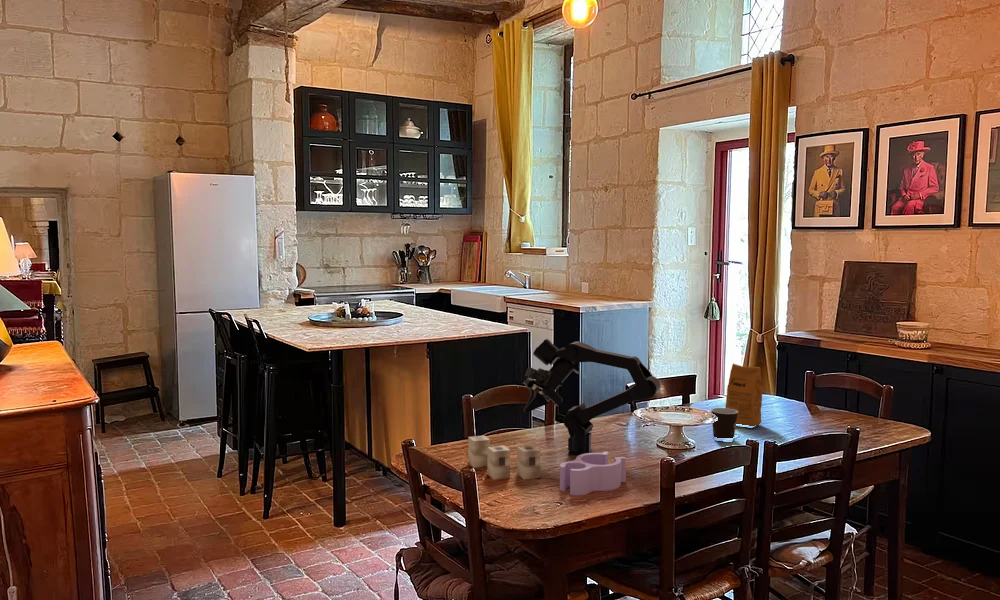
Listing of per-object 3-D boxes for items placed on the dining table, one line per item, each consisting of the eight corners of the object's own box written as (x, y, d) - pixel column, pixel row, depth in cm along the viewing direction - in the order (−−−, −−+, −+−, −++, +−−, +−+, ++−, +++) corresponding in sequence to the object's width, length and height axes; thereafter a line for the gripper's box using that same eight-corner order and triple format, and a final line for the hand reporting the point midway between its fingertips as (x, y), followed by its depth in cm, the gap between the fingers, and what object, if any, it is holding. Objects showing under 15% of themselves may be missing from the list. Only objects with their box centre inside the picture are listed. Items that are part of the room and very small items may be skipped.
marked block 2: (533, 472, 216) (533, 444, 215) (540, 477, 211) (540, 449, 210) (517, 474, 214) (517, 446, 213) (524, 479, 209) (524, 451, 208)
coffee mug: (727, 445, 244) (728, 415, 243) (705, 439, 251) (706, 410, 250) (746, 438, 252) (747, 409, 251) (724, 433, 258) (725, 405, 257)
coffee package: (733, 419, 278) (735, 361, 276) (765, 425, 269) (767, 365, 267) (720, 424, 271) (722, 364, 269) (752, 430, 262) (754, 369, 260)
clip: (582, 500, 194) (582, 474, 193) (549, 487, 203) (549, 462, 203) (632, 483, 206) (633, 459, 206) (599, 472, 216) (600, 449, 215)
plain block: (484, 461, 226) (484, 435, 225) (489, 465, 221) (489, 439, 220) (468, 462, 224) (468, 436, 223) (473, 467, 219) (473, 441, 219)
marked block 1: (503, 472, 215) (504, 444, 215) (510, 477, 211) (510, 449, 210) (487, 474, 214) (487, 446, 213) (493, 479, 209) (493, 451, 208)
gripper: (529, 353, 241) (497, 389, 238) (553, 362, 223) (519, 401, 220) (550, 375, 244) (519, 411, 241) (576, 386, 227) (543, 425, 224)
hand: (524, 411), depth 231 cm, fingers closed
